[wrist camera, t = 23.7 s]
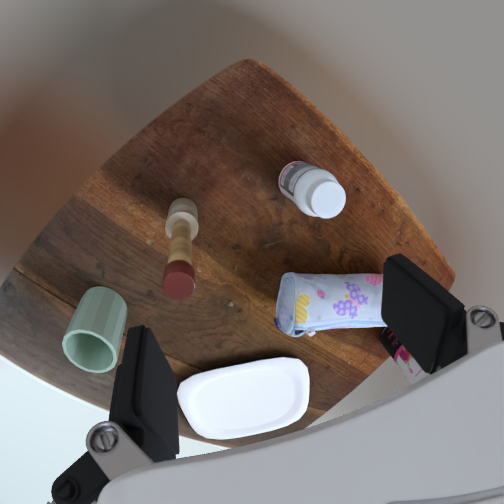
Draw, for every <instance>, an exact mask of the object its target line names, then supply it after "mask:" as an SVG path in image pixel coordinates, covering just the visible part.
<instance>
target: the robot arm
mask: <svg viewBox="0 0 504 504" xmlns="http://www.w3.org/2000/svg"><path fill="white" fill-rule="evenodd" d="M464 307H465V306H464V305H463V304H462V303H461V302H460V301H459V300H458V299H457V298H455V297H454V296H453V295H452V294H450V293H449V292H448V291H447V290H446V289H445V288H444V287H442V286H441V285H440V284H439V283H438V282H436V281H435V280H434V279H433V278H432V277H430V276H429V275H428V274H427V273H425V272H424V271H423V270H422V269H420V268H419V267H418V266H417V265H415V264H414V263H413V262H411V261H410V260H409V259H408V258H406V257H405V256H404V255H402V254H401V253H399V254H396V255H393V256H390V257H388V258H387V260H386V262H384V267H383V288H382V303H381V318H382V320H383V322H384V323H385V324H386V325H387V326H388V328H389V329H390V330H391V331H392V332H393V334H394V335H395V336H396V337H397V339H398V340H399V341H400V342H401V343H402V345H403V346H404V347H405V348H406V350H407V351H408V352H409V353H410V354H411V356H412V357H413V358H414V359H415V361H416V362H417V363H418V364H419V366H420V367H421V368H422V370H423V371H424V372H425V373H429V374H430V376H428V377H426V378H424V379H422V380H420V381H418V382H416V383H414V384H413V385H411V386H409V387H407V388H405V389H403V390H400V391H398V392H396V393H394V394H392V395H390V396H388V397H386V398H384V399H381V400H379V401H377V402H374V403H372V404H370V405H368V406H365V407H363V408H361V409H358V410H356V411H353V412H351V413H348V414H346V415H343V416H340V417H338V418H335V419H332V420H330V421H327V422H324V423H321V424H318V425H315V426H312V427H309V428H306V429H303V430H300V431H297V432H294V433H290V434H287V435H284V436H280V437H277V438H273V439H269V440H265V441H262V442H258V443H254V444H250V445H245V446H241V447H236V448H232V449H227V450H222V451H217V452H213V453H208V454H202V455H197V456H190V457H184V458H179V459H176V454H179V434H178V412H177V381H176V377H175V374H174V372H173V370H172V369H171V367H170V365H169V363H168V361H167V360H166V358H165V356H164V354H163V352H162V350H161V348H160V346H159V345H158V343H157V341H156V339H155V337H154V335H153V333H152V331H151V329H150V328H145V326H144V325H141V326H136V327H132V328H129V330H128V334H127V338H126V343H125V348H124V354H123V359H122V364H120V365H119V366H118V367H117V371H116V377H115V382H114V388H113V394H112V401H111V407H110V414H109V421H104V422H100V423H98V424H96V425H95V426H93V427H92V428H91V429H90V431H89V432H88V434H87V437H86V447H87V449H88V451H87V452H86V453H85V454H84V455H82V456H81V457H80V458H79V459H78V460H77V461H76V462H75V463H73V464H72V465H71V466H70V467H69V468H68V469H67V470H66V471H64V472H63V473H62V474H61V475H60V476H59V477H58V478H57V479H56V480H55V481H54V483H53V485H52V490H51V493H52V497H53V501H52V503H50V502H48V503H47V504H504V322H499V318H498V316H497V314H496V313H495V312H494V311H493V310H492V309H490V308H488V307H486V306H474V307H471V308H470V309H469V310H468V311H467V312H466V311H465V310H464Z"/></svg>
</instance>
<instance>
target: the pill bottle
mask: <svg viewBox="0 0 504 504" xmlns="http://www.w3.org/2000/svg"><path fill="white" fill-rule="evenodd" d="M279 188H280V190H281V192H282V194H283V195H284V196H285V197H286V198H287V199H289V200H290V201H291V202H292V203H293V204H294V205H296V206H297V207H298V208H299V209H300V210H301V211H302V212H304V213H305V214H307V215H310V216H319V217H322V218H332V217H334V216H336V215H337V214H339V213H340V212H341V210H342V209H343V207H344V205H345V201H346V195H345V191H344V189H343V188H342V186H341V185H340V184H338V182H337V180H336V178H335V177H334V176H333V175H332V174H331V173H329V172H328V171H326V170H324V169H321V168H319V167H316V166H314V165H312V164H309V163H306V162H303V161H295V162H291V163H289V164H288V165H286V166H285V167H284V168H283V170H282V171H281V173H280V176H279Z"/></svg>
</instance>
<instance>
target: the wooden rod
mask: <svg viewBox="0 0 504 504" xmlns="http://www.w3.org/2000/svg"><path fill="white" fill-rule="evenodd" d="M165 230H166V233H167V235H168V237H169V238H170V239H171V242H170V250H169V257H168V265H167V266H166V267H165V270H164V277H163V290H164V292H165V293H166V295H167V296H169V297H170V298H172V299H175V300H183V299H186V298H188V297H190V296H191V295H192V294H193V292H194V290H195V271H194V268H193V267H192V252H191V240H193V239H194V238H195V236H196V235H197V233H198V215H197V207H196V205H195V203H194V202H193V201H192V200H190V199H188V198H179V199H176V200H175V201H173V202H172V204H171V205H170V208H169V212H168V216H167V221H166V226H165Z"/></svg>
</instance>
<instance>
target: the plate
mask: <svg viewBox="0 0 504 504" xmlns="http://www.w3.org/2000/svg"><path fill="white" fill-rule="evenodd" d="M177 396H178V400H179V404H180V406H181V409H182V411H183V413H184V415H185V417H186V418H187V420H188V422H189V424H190V425H191V427H192V428H193V429H194V430H195V431H196V433H197V434H199V435H201V436H204V437H206V438H210V439H230V438H238V437H244V436H249V435H254V434H259V433H263V432H268V431H272V430H275V429H278V428H281V427H285V426H287V425H289V424H291V423H293V422H295V421H297V420H299V419H300V418H301V416H302V415H303V414H304V413H305V412H306V409H307V405H308V402H309V374H308V369H307V366H306V365H305V364H304V363H303V362H302V361H301V360H300V359H299V358H291V357H283V356H282V357H276V358H269V359H261V360H256V361H251V362H246V363H241V364H236V365H231V366H226V367H221V368H216V369H212V370H208V371H204V372H201V373H197V374H194V375H192V376H190V377H189V378H187V379H185V380H183V381H182V382H181V383H180V385H179V388H178V391H177Z"/></svg>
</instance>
